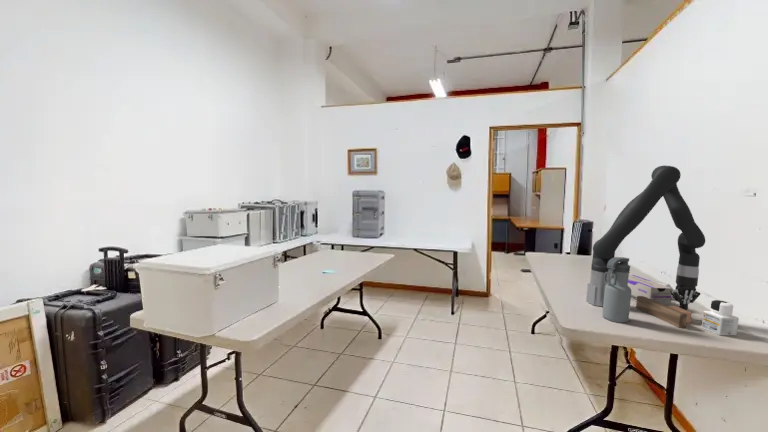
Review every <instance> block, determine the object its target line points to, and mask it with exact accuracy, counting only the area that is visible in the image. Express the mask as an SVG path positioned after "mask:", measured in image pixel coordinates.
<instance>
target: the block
mask: <svg viewBox="0 0 768 432" xmlns="http://www.w3.org/2000/svg"><path fill="white" fill-rule="evenodd" d="M668 307H671V308H673V309H675V310H678V311H680V312H683V313H685V314H687V319H686V324H690V323H691V321H692V314H693V312H691V311H689V310H684V309H682V308H679V306H677V305H670V306H668Z"/></svg>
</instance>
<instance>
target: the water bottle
mask: <svg viewBox="0 0 768 432" xmlns="http://www.w3.org/2000/svg"><path fill="white" fill-rule="evenodd" d="M629 262H630V258H629V257H622V256H621V257H619V256H618V257H617V256H616V257H615V256H614V258H612V259H610V260H609V261H608V263H607V268H609V269H608V272H605V275H604V282H605V283H608V284H607V285H606V286H605V294H604V303H603V307H602V314H601V315H602V317H603V318H604V319H606V320H607V321H610V322H614V323H618V322H619V323H618V324H625V323H627V322H629V319H630V308H631V302H632V300H631V289H630V287H628V277H629V275H630V271H631V269H630V268H631V266H630V265H629ZM608 273H609V274H611V277H610V283H609V282H607V280H606V277H607V274H608Z"/></svg>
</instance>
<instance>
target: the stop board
mask: <svg viewBox="0 0 768 432" xmlns="http://www.w3.org/2000/svg"><path fill="white" fill-rule="evenodd" d="M635 303H636V304H635V308H636V309H638V310H640V311H643V312H645V313H647V314H650V315H651V316H653V317H655V318H656V319H659V320H661V321H664V322H666V323H668V324H669V325H672V326H674V327H676V328H678V329H679V328H680V329H683V328H684V329H685V328H686V325H687V323H686V319H687V314H685V313H683V312H680V311H678V310H675V309H673V308H671V307H668V306H666V305H663V304H661V303H659V302H656V301H654V300H651V299H649V298H647V297H644V296H637V302H635Z"/></svg>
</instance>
